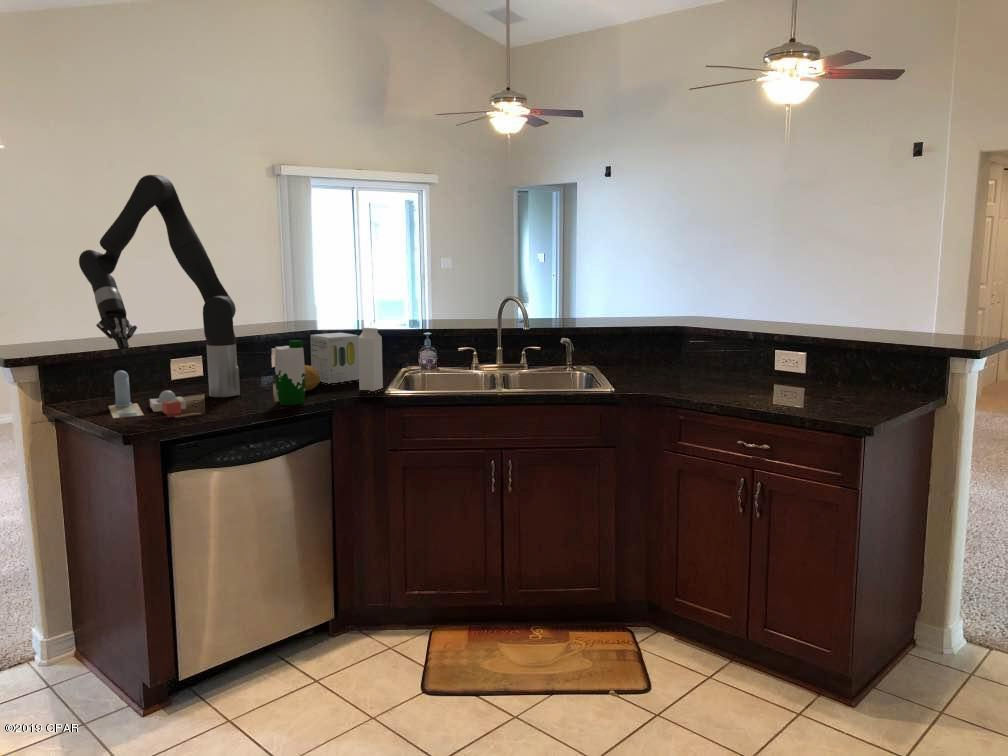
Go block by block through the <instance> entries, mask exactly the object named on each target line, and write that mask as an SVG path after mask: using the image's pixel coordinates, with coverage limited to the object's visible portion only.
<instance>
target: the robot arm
mask: <svg viewBox="0 0 1008 756" xmlns="http://www.w3.org/2000/svg"><path fill="white" fill-rule="evenodd" d="M153 207H156V208H157V210H158V212H159V215H160V216H161V217H162V220H163V221H164V224H165V227H166V233H167V238H168V242H169V246H170V248H171V251H172V253H173V255H174V257H175V258H176V259H175V260H177V263H178V264H179V265H180V267H181V268H182V270H183V271H184V273H186V275H187V276H188V278H189V279H191V282H192V283H194V285H195V286H196V288H197V289H198V291H199V293H200V295H201V297H202V300H203V303H204V304H203V308H202V320H203V321H202V322H203V331H204V332H203V334H204V338H205V342H206V356H207V362H206V363H207V375H208V376H207V377H208V393H209V395H208V396H209V397H212V398H229V397H235V396H240V395H241V389H240V388H241V387H240V369H239V366H238V360H237V359H238V358H237V357H238V356H237V340H236V334H235V330H234V317H235V314H236V310H237V309H236V304H235V302H234V301H233V300H232V297H231V296H230V295H229V293H228V291H227V290H226V289H225V287H224V285H222V283H221V281H220V279H219V278H218V275H217V273H216V271H215V268H214V266H213V263H212V261H211V260H210V258H209V255H208V253H207V251H206V249H205V247H204V245H203V243H202V241H201V239H200V237H199V235H198V234H197V232H196V230H195V228H194V227H193V225H192V223H191V220H190V219H189V218H188V216H187V215H186V212H185V209H184V208H183V205H182V203H181V201H180V198H179V195H178V193H177V190H176V189H175V186H174V184H173V182H172V181H171V180H170V179H169V178H167V177H166V176H164V175H160V174H146V175H143V176H142V177H141V178H139V180H138V182H137V184H136V185H135V187H134V189H133V190H132V193H131V195H130V197H129V198H128V200H127V202H126V204H125V205H124V207H123V209H122V211H121V212H120V214H119V215H118V216H117V218H116V219H115V221H113V223H112V224H111V225H110V227H108V229H107V230H106V232H105V233H104V234H103V235H102V237H101V238H100V240H99V245H100V247H101V249H103V250H104V251H105V253H102V252H98V251H96V250H93V249H86V250H83V251H82V252H81V253H80V255H79V258H78V265H79V268H80V270H81V272H82V274H83V275H84V277H85V278H86V280H87V281H88V283H89V284H90V285H91V288H92V292H93V294H94V295H93V296H94V299H95V304H96V308H97V310H98V313H99V317H100V321H98V323H96V327H97V328H98V329H99V330H100V331H101V332H102V333H103V334H104V335H105V336H107V338H108V339H111V340H113V339H114V342H116V345H117V348H118V349H119V350H120V351H119V352H126V351H127V350H128V349H129V348H130V345H129V341H128V340H130V339H131V338H133V336H134V334H135V332H136V330H137V329H138V326H137V325H132V324H130V321H129V319H128V318H127V310H126V308H125V307H126V306H125V304H124V302H123V298H122V295H121V293H120V291H119V289H118V288H119V287H118V286H117V283H116V280H115V277H113V275H111V274H113V272H114V271H115V269H116V268H117V265H118V262H119V260H120V257H121V255H122V252H123V250H124V249H125V248H126V247H127V246H128V244H129V243H131V240H132V239H133V238H134V236H135V234H136V232H137V230H138V228H139V225H140V223H141V221H142V219H143V218H144V217H145V215H146V214H147V213H148V212H149V211H150V210H151V209H152V208H153Z"/></svg>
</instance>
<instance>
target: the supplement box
mask: <svg viewBox="0 0 1008 756" xmlns="http://www.w3.org/2000/svg"><path fill="white" fill-rule="evenodd" d="M358 337H359V335H357V334H352V333H348V332H347V333H346V332H331V333H330V332H329V333H318V334H317V333H316V334H310V360H311V361H310V362H311V364H310V366H312V367H314V368H315V369H316V370H317V371H318V373H319V376H320V381H321V382H324V383H328V384H330V383H338V382H344V381H351V380H358V379H359V352H358ZM324 383H323V384H324Z"/></svg>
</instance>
